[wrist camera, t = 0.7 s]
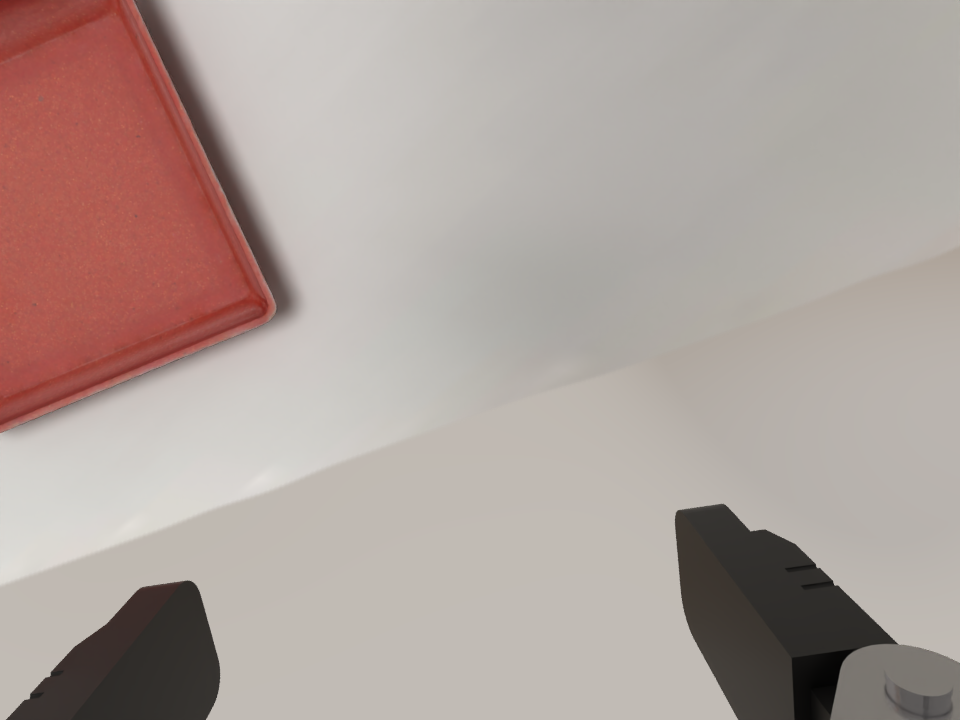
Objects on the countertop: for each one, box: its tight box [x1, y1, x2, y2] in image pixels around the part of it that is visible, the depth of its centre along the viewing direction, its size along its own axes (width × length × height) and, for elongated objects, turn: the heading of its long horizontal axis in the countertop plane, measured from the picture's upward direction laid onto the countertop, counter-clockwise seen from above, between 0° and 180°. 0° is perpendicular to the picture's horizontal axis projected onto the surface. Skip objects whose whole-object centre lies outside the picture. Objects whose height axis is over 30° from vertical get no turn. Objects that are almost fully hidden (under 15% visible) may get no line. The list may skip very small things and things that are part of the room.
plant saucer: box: [0, 0, 277, 433], centre depth 30 cm, size 18×18×3 cm
